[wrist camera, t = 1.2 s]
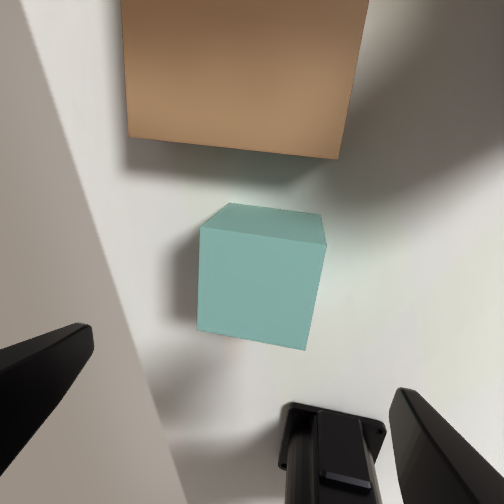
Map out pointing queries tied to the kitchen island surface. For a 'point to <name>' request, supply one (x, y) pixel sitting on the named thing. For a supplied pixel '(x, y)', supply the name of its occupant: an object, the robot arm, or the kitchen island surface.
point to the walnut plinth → (242, 72)
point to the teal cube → (260, 274)
